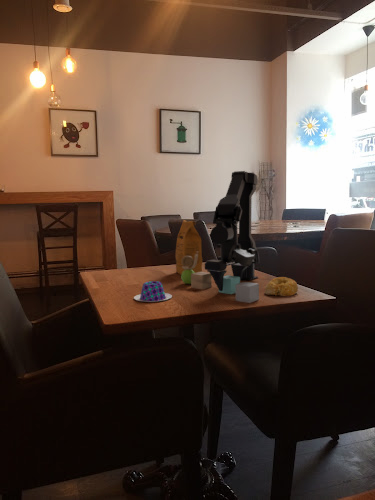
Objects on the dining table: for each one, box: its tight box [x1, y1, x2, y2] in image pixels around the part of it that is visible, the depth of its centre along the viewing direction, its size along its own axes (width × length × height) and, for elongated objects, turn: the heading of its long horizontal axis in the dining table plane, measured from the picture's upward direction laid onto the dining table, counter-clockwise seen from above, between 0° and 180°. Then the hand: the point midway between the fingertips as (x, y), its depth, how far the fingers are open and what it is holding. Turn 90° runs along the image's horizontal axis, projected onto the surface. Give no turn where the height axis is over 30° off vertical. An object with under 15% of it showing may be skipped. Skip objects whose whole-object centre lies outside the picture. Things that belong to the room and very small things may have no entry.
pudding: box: [133, 280, 173, 303], centre depth 130 cm, size 12×12×5 cm
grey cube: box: [235, 281, 260, 304], centre depth 125 cm, size 5×5×5 cm
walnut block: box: [190, 271, 213, 290], centre depth 144 cm, size 5×5×5 cm
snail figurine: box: [180, 251, 198, 285], centre depth 150 cm, size 5×6×12 cm
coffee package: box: [175, 219, 203, 276], centre depth 171 cm, size 10×12×22 cm
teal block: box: [218, 274, 241, 295], centre depth 136 cm, size 5×5×5 cm
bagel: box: [264, 276, 299, 297], centre depth 133 cm, size 10×11×5 cm
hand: (229, 288), depth 136 cm, fingers open, 9 cm apart
